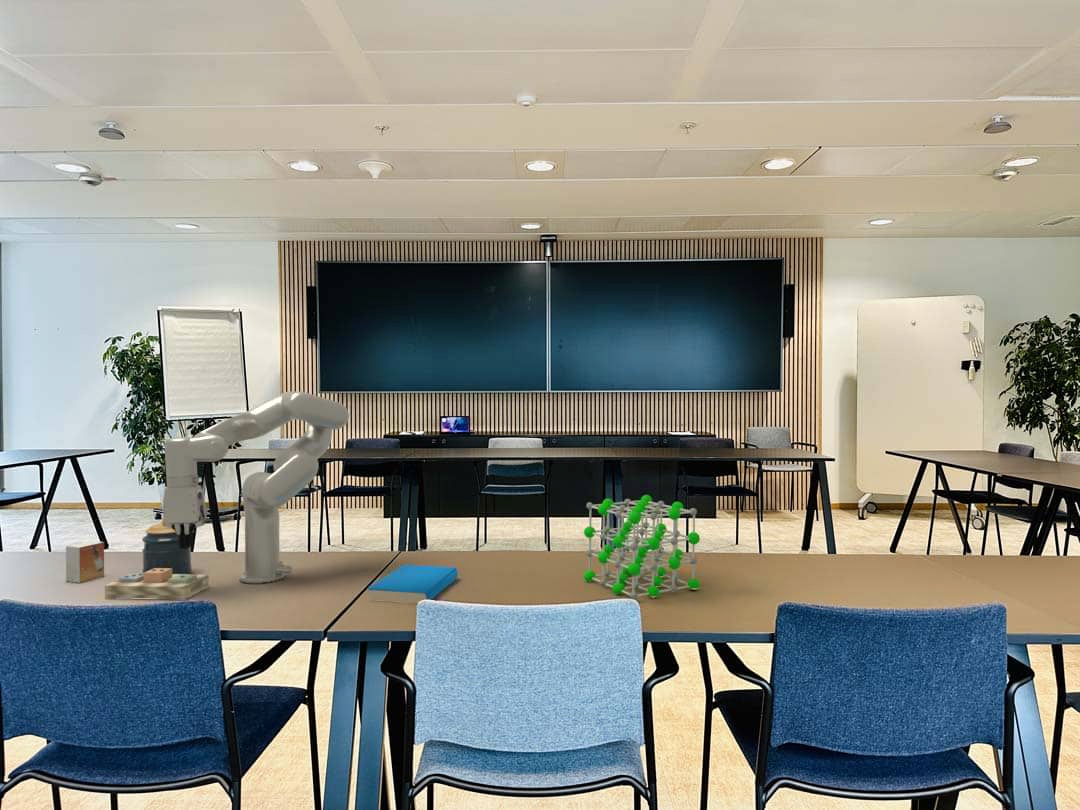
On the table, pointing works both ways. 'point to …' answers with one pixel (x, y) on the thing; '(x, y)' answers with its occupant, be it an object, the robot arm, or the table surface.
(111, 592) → the wooden tile tray
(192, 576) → the tile
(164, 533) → the canister
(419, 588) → the book
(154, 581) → the orange square block
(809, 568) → the table surface
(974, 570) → the table surface
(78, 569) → the small box
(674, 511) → the molecular structure model
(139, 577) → the building block
